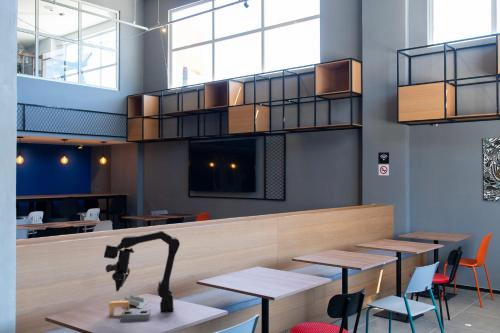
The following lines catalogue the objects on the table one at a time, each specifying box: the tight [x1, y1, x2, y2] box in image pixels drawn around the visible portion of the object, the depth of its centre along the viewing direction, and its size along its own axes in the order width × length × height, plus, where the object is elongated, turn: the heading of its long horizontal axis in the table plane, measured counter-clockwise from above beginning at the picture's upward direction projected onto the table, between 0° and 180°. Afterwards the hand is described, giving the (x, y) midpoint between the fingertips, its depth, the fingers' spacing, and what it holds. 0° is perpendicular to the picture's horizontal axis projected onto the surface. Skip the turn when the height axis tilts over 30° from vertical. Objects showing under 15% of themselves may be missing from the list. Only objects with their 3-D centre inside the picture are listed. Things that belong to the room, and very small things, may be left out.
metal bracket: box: [122, 294, 151, 310], centre depth 271 cm, size 14×6×15 cm
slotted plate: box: [120, 309, 152, 322], centre depth 246 cm, size 14×8×3 cm, turn 95°
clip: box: [108, 300, 130, 316], centre depth 254 cm, size 10×2×6 cm, turn 95°
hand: (118, 289), depth 255 cm, fingers open, 9 cm apart
